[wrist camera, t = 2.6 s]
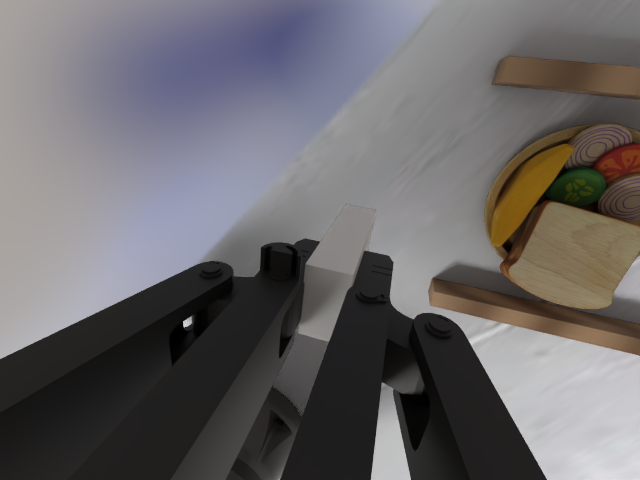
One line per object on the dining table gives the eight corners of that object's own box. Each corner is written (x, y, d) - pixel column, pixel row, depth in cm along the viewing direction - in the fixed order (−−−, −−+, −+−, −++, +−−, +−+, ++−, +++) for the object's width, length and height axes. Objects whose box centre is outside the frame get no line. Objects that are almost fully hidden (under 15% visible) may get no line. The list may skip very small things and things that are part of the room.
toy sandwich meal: (714, 165, 22) (788, 178, 18) (576, 304, 28) (606, 339, 24) (545, 95, 23) (576, 92, 19) (447, 245, 29) (453, 268, 25)
